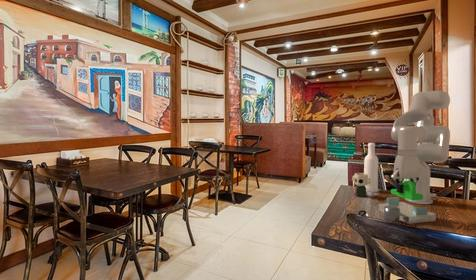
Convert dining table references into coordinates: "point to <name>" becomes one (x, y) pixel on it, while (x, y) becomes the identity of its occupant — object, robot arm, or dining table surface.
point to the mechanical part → (408, 191)
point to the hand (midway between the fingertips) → (405, 191)
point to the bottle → (371, 168)
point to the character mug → (361, 183)
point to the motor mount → (405, 212)
